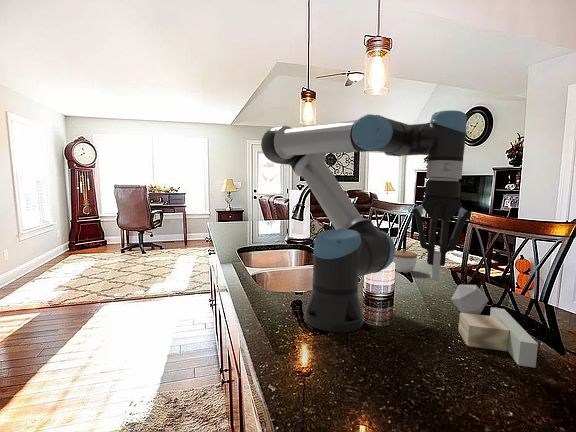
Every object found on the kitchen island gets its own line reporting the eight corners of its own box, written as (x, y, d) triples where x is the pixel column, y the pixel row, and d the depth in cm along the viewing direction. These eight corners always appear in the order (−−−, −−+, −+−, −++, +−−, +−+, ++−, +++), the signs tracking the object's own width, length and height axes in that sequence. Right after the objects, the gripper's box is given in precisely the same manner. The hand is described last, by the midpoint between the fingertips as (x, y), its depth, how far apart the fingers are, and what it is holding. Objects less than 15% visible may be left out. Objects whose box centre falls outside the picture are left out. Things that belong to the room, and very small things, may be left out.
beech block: (467, 346, 75) (469, 325, 75) (458, 332, 83) (459, 312, 83) (507, 352, 73) (509, 330, 73) (494, 336, 81) (495, 316, 81)
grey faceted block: (484, 323, 90) (498, 292, 92) (456, 305, 91) (470, 275, 94) (468, 322, 98) (481, 293, 100) (441, 305, 99) (455, 278, 101)
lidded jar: (391, 273, 137) (392, 250, 136) (387, 267, 148) (389, 246, 147) (418, 275, 135) (420, 252, 134) (413, 268, 146) (414, 247, 145)
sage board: (518, 365, 68) (520, 341, 67) (489, 326, 87) (490, 307, 86) (535, 367, 67) (538, 343, 66) (502, 327, 86) (504, 308, 85)
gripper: (415, 178, 76) (406, 279, 79) (478, 181, 72) (467, 286, 75) (412, 179, 83) (405, 271, 86) (470, 181, 80) (460, 277, 82)
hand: (434, 278), depth 80 cm, fingers closed
